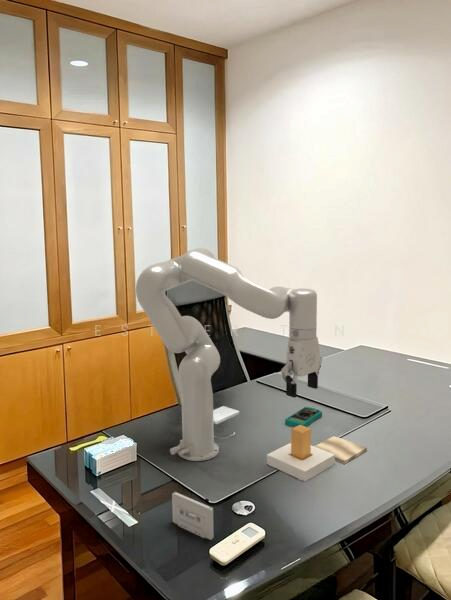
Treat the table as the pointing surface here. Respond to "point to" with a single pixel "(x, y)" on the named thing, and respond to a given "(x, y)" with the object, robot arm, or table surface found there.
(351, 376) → the table surface
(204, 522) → the cassette
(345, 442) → the pad
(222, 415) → the hard drive
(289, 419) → the digital multimeter
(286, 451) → the white square holed plate
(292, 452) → the plug
